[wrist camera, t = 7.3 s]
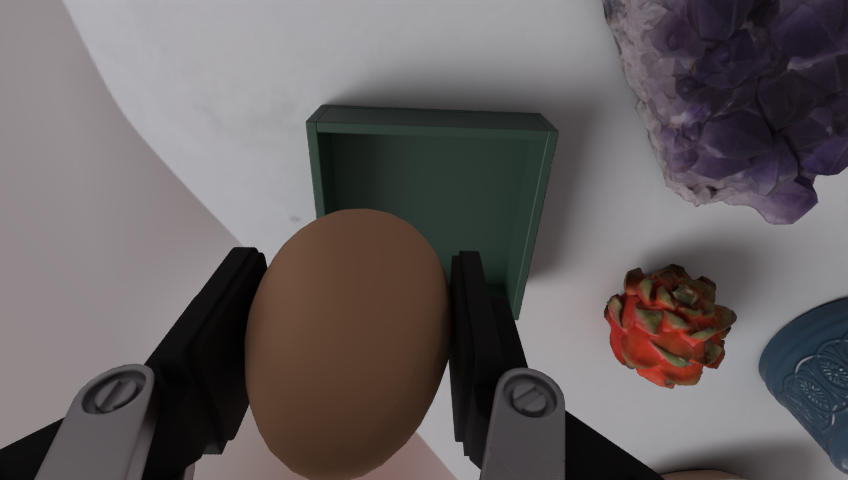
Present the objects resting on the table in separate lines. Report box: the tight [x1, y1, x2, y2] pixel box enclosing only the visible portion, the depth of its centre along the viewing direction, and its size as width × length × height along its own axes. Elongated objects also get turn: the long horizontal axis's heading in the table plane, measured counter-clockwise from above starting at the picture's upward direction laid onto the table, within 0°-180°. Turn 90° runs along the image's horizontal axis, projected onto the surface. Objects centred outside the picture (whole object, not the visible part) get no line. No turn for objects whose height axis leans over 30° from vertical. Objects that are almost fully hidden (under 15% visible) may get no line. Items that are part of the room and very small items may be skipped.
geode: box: [602, 0, 848, 225], centre depth 20 cm, size 20×12×10 cm, turn 37°
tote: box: [306, 105, 558, 320], centre depth 28 cm, size 14×14×4 cm
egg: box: [245, 208, 453, 480], centre depth 11 cm, size 5×5×8 cm
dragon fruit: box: [604, 264, 737, 389], centre depth 31 cm, size 8×8×12 cm
